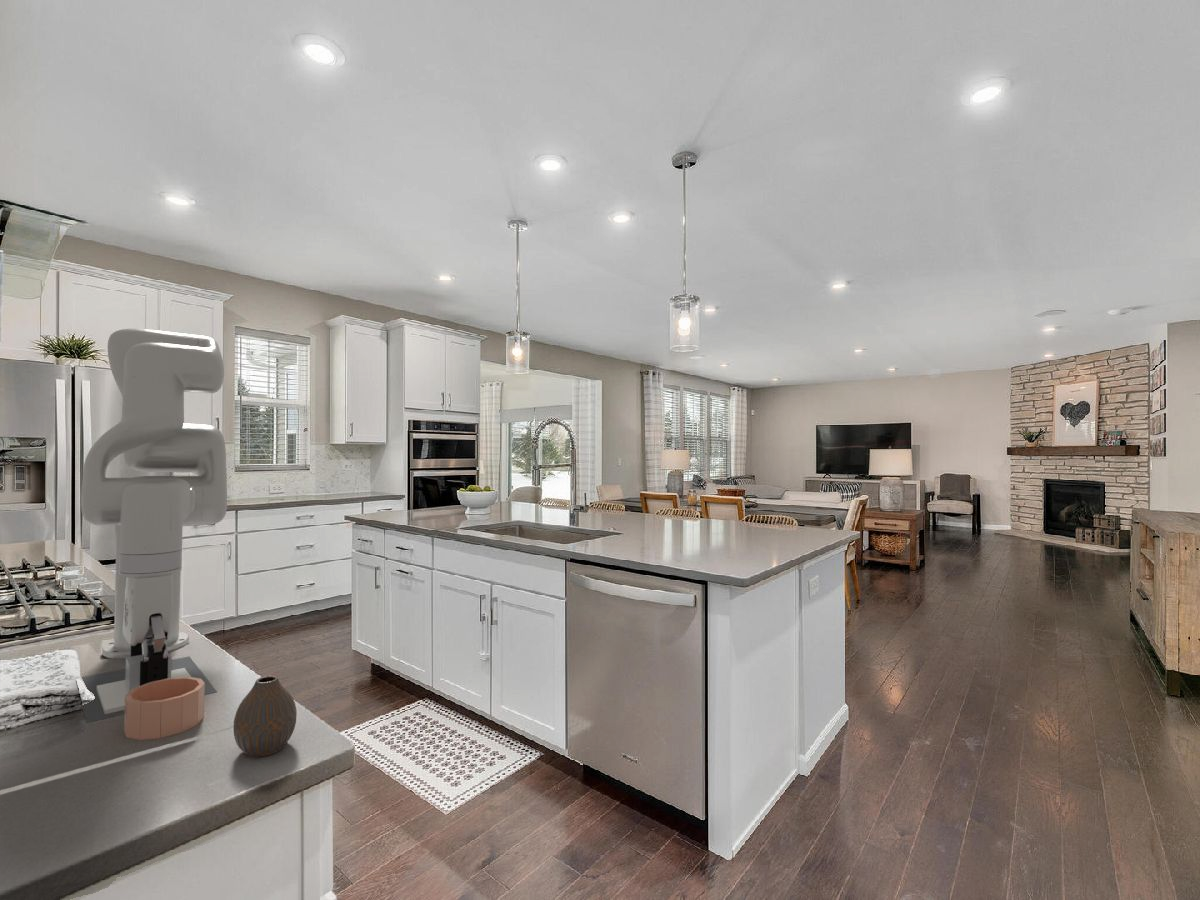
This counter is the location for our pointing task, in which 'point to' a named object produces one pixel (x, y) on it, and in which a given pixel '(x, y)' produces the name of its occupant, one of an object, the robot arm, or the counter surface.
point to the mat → (94, 708)
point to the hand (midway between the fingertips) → (148, 677)
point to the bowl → (163, 707)
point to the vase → (265, 718)
